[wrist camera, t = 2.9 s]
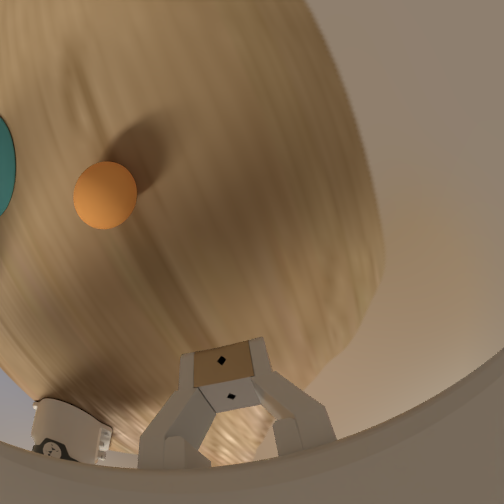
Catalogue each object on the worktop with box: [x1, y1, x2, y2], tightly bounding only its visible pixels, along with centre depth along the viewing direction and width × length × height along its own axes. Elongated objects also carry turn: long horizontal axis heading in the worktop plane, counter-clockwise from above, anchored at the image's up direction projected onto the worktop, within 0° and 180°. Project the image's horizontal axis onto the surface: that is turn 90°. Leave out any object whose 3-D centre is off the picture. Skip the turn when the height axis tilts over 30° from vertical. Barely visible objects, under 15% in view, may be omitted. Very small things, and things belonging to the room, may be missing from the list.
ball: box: [74, 161, 137, 229], centre depth 20 cm, size 6×6×6 cm
